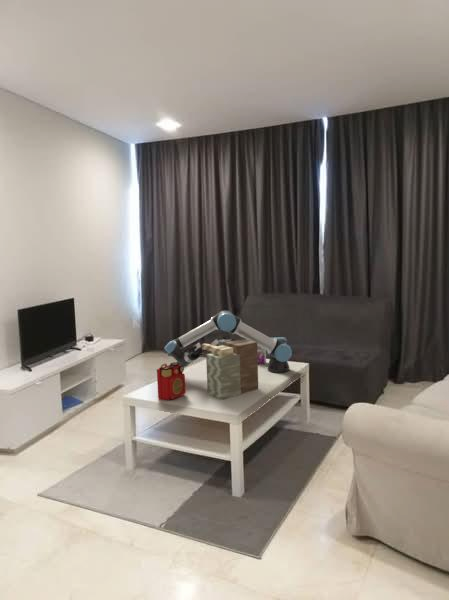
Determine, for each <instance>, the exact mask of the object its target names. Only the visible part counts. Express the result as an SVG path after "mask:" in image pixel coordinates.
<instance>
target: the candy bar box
mask: <svg viewBox="0 0 449 600" xmlns="http://www.w3.org/2000/svg"><path fill="white" fill-rule="evenodd" d="M257 352H258V365H261V364H262V365H265V364H267V350H265V349H263V348H261V347H259V346H258V345H257Z"/></svg>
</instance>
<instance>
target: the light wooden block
mask: <svg viewBox="0 0 449 600" xmlns="http://www.w3.org/2000/svg"><path fill="white" fill-rule="evenodd" d="M210 344H211V343H206V342H205V343H202V344H201V347H202V348H201V349H202V350H203V349H204V350H208V351H207V352H211V353H212V354H214V355H217V356H221V357H225V356H229V355H233V348H232V347H228V346H223V345H222V346H219V345H216V346H214V345H210Z"/></svg>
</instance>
